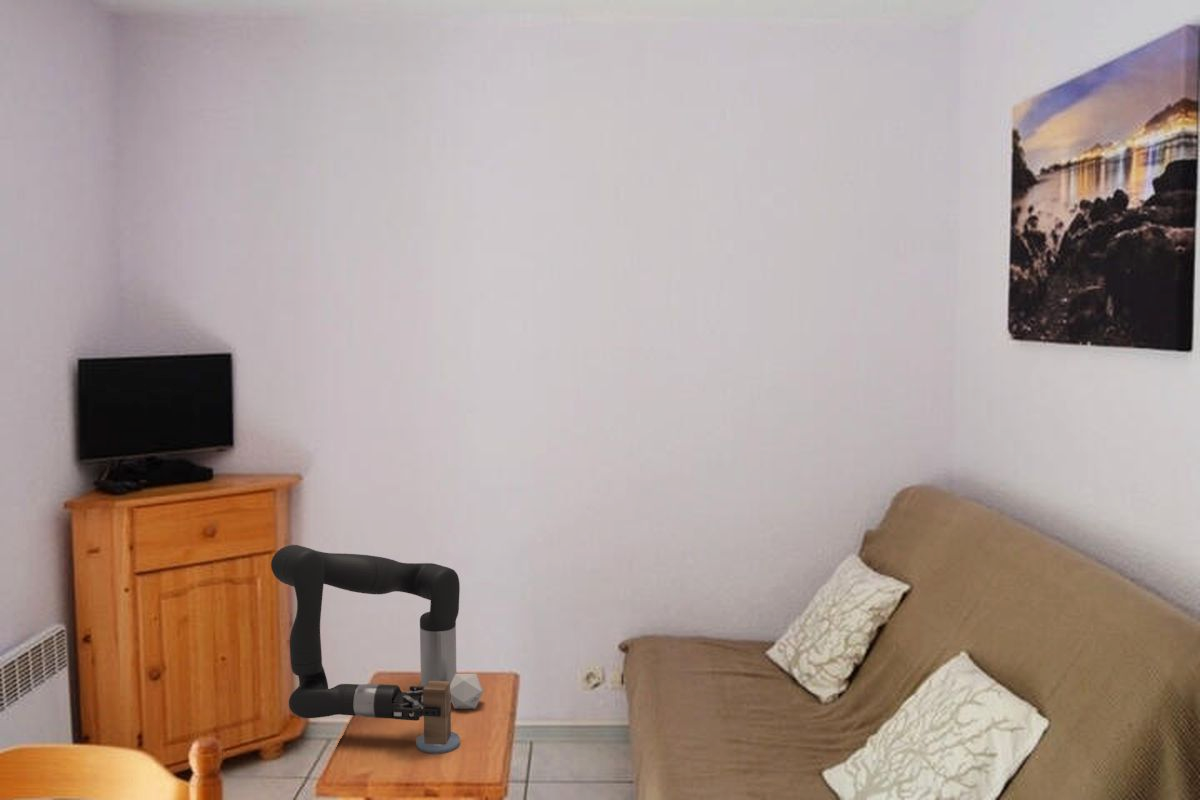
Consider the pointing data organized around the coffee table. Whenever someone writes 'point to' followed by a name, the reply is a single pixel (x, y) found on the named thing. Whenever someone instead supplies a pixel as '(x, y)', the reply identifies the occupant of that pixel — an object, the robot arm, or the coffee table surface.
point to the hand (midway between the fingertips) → (445, 704)
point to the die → (465, 691)
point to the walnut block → (440, 727)
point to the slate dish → (438, 745)
